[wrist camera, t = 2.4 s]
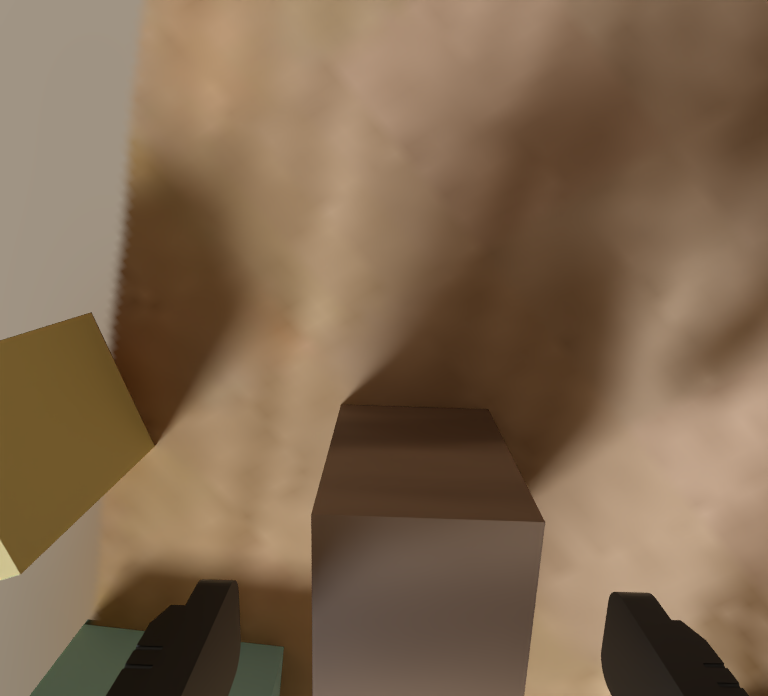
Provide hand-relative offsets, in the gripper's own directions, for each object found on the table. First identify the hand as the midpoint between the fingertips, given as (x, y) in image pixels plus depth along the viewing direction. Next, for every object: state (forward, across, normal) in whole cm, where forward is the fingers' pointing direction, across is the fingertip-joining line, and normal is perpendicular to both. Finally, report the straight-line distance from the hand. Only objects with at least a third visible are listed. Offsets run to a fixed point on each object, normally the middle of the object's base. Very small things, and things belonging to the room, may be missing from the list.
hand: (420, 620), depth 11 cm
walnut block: (+6, 0, -1) cm, 6 cm away
